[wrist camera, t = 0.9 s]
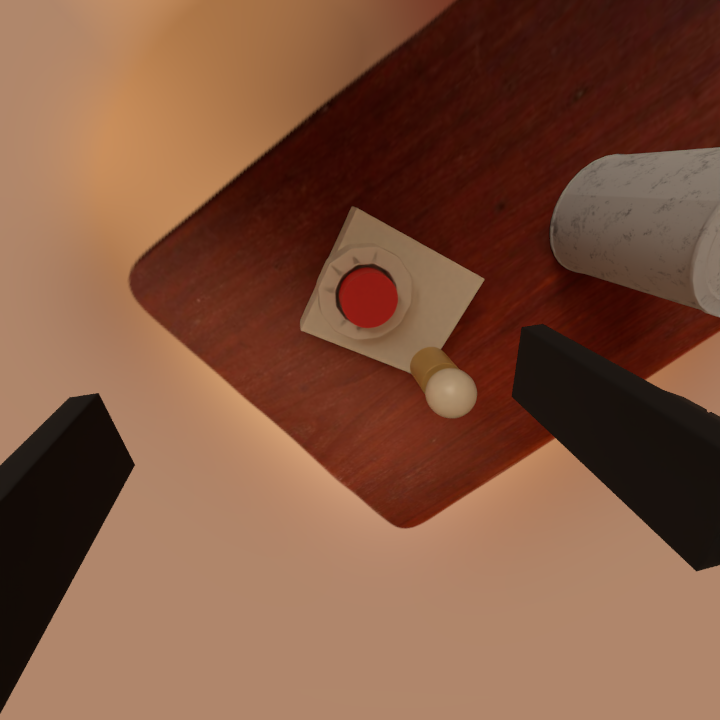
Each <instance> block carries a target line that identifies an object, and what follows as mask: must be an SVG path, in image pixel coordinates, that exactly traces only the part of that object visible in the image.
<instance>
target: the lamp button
mask: <svg viewBox="0 0 720 720" xmlns="http://www.w3.org/2000/svg"><path fill="white" fill-rule="evenodd" d="M339 301H340V305H341V307H342V309H343V311H344V314H345V316H346V317H347V318H348V320H349V321H350V322H351V323H353V324H354V325H356V326H359V327H362V328H374V327H377V326H380V325H382V324H384V323H385V322H387V321H388V320H389V319H390V318H391V317H392V315H393V314H394V312H395V310H396V307H397V303H398V294H397V290H396V287H395V285H394V284H393V282H392V281H391V280H390V279H389V278H388V277H387V276H386V275H385V274H383V273H382V272H381V271H379V270H377V269H374V268H369V267H366V268H360V269H357V270H355V271H353V272H351V273H350V274H349V275H348V276H347V277H346V278H345V279H344V280H343V282H342V284H341V286H340V290H339Z"/></svg>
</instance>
